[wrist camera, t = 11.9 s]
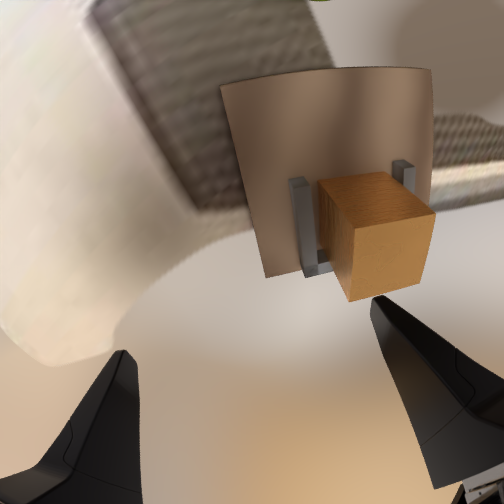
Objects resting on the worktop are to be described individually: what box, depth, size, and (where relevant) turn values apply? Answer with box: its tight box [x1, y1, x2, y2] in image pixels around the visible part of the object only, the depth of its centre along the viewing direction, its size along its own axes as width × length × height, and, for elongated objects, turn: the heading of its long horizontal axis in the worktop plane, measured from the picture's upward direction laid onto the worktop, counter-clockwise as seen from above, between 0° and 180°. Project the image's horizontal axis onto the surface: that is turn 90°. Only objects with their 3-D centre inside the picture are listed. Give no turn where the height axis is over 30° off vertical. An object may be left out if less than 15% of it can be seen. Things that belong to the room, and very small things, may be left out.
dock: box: [220, 67, 433, 278], centre depth 18 cm, size 14×14×3 cm
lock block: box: [317, 171, 436, 302], centre depth 17 cm, size 5×5×6 cm
